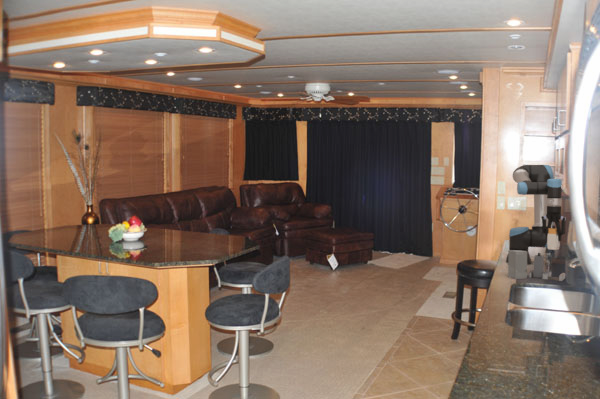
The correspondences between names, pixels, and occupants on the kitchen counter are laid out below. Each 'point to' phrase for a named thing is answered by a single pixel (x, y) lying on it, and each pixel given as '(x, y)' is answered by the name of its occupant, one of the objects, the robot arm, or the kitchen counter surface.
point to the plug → (552, 238)
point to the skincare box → (517, 264)
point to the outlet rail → (548, 276)
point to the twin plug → (538, 265)
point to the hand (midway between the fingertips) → (553, 246)
